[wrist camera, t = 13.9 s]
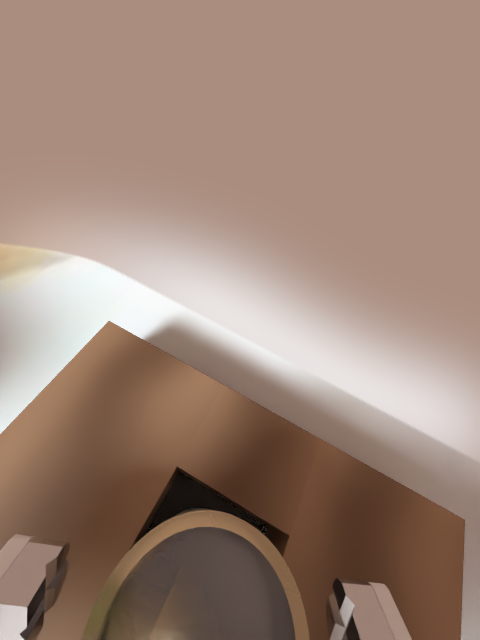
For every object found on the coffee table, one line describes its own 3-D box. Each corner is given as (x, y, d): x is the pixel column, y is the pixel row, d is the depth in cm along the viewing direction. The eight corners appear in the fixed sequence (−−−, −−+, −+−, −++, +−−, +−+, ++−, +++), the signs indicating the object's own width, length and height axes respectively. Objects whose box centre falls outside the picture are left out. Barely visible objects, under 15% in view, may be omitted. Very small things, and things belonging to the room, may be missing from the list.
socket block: (408, 514, 16) (464, 519, 13) (346, 983, 9) (438, 1271, 6) (123, 351, 19) (109, 320, 16) (-103, 616, 12) (-222, 666, 8)
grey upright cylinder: (258, 547, 15) (349, 621, 6) (194, 650, 12) (201, 986, 4) (194, 480, 16) (198, 467, 7) (125, 564, 14) (16, 684, 5)
